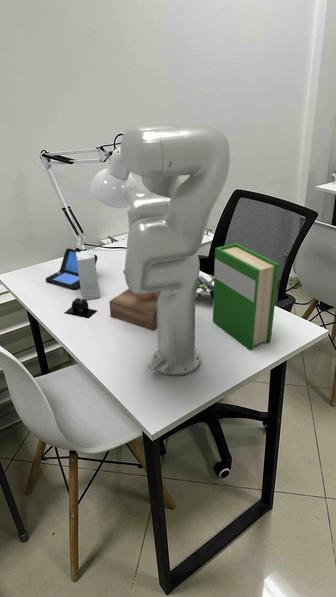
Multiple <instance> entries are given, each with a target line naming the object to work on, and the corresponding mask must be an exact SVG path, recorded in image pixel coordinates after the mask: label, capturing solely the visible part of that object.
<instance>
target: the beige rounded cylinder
mask: <svg viewBox="0 0 336 597" xmlns="http://www.w3.org/2000/svg"><path fill="white" fill-rule="evenodd" d="M152 298H153V293H147V294H137V299H139V300H141V301H147V300H151V299H152Z"/></svg>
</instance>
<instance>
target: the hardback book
mask: <svg viewBox="0 0 336 597" xmlns="http://www.w3.org/2000/svg"><path fill="white" fill-rule="evenodd" d="M279 269H280V263H278V262H277V261H274V260H272V259H270V258H268V257H266V256H264V255H262V254H260V253H258V252H256V251H254V250H253V249H252V250H251V249H249V248H247V247H246V246H244V245H241V244H239V243H237V242H235V243H231V244H227V245H224V246H223V245H222V246H218V247H215V249H214V272H213V277H214V281H213V286H214V299H212V301H213V303H212V304H213V306H212V307H213V308H212V323H213V324H214V325H216V326H217V327H218V328H220V329H221V330H222V331H224V332H225V333H226V334H228V335H229V336H230V337H232V338H233V340H235V341H236V342H238V343H239V344H240V345H242V346H243V347H244V348H245V347H246V348H245V349H247V350H248V351H249V352H250V351H253V349H254V348H253V347H254V346H256V345H259V344H262V343H266V344H268V345H269V344H271V343H272V342H271V341H272V335H273V325H274V324H273V323H274V316H275V309H276V308H275V307H276V297H277V291H278V290H277V289H278V281H279V279H278V278H279Z"/></svg>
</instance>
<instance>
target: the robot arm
mask: <svg viewBox="0 0 336 597" xmlns="http://www.w3.org/2000/svg"><path fill="white" fill-rule="evenodd" d="M230 152H231V151H230V145H229V141H228V139H227V137H226V135H225V134H224V133H223V132H221V131H220V130H218V129H216V128H213V127H208V126H184V127H183V126H182V127H181V126H178V125H176V124H175V125H174V124H155V125H154V124H152V125H139V126H131V127H129V128H127V129H126V130H125V132H124V133H123V134H122V137H121V140H120V156H121V161H122V163H123V165H124V167H125V168H126V169H127V170H128V172H131V173H132V174H134V175H137V176H138V177H140V178H141V182H142V185H143V186H144V187H145V188H141V189H140V188H137V189H132V190H130V191H129V192H128V193H127V195H126V204H127V205H126V206H127V208H126V209H127V210H126V211H127V212H126V215H127V218H128V220H127V221H128V234H127V240H126V250H125V251H126V252H125V261H124V262H125V263H124V269H123V271H122V272H123V275H124V278H125V283H126V286H127V288H128V289H130V291H131V292H133V293H135V294H147V293H153V292H159V291H161V292H160V295H159V297H158V300H157V306H156V307H157V328H156V331H157V334H156V335H157V350H156V351H155V352H154V353H153V356H152V362H150V364H148V365H147V370H148V371H150V372H151V373H153V372H154V371H156V370H157V371H158V372H159V373H162V374H164V375H168V376H177V377H178V376H185V375H188V374H191V373H193V372H195V371H196V370H197V369H198V368H199V366H200V364H201V355H200V353H199V352H198V350H196V349H195V347H196V345H195V342H196V341H195V339H196V334H195V333H196V300H195V296H196V287H197V282H198V277H199V276H200V272H201V271H200V270H201V269H200V268H201V267H200V266H201V265H200V258H199V256H198V254H197V253H198V251H199V250H200V248H201V245H202V243H203V240H204V237H205V236H204V235H205V234H206V233H205V232H206V230H207V228H208V227H207V226H208V224H209V219H210V216H211V213H212V211H213V208H214V206H215V204H216V202H217V201H218V199H219V197H220V195H221V193H222V191H223V189H224V188H225V187H224V186H225V184H226V182H227V179H228V175H229V170H230V164H231V163H230V158H231V153H230ZM183 176H188V177H187V179H185V180H184V181H183V182H182V180H181V178H180V177H183Z"/></svg>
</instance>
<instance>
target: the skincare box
mask: <svg viewBox="0 0 336 597" xmlns="http://www.w3.org/2000/svg"><path fill="white" fill-rule="evenodd" d="M79 251H80V252H76V259H77V267H78V274H79V281H80V287H81V288H80V291H81V295H82V299H85V300H87V301H88V300H94V299H100V298H101V295H100V294H101V293H100V288H99V279H98V278H99V277H98V272H97V263H96V264H95V256H94V255H95V254H94V251H93V250H92V249H88V250H86V249H85V250H79Z"/></svg>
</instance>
